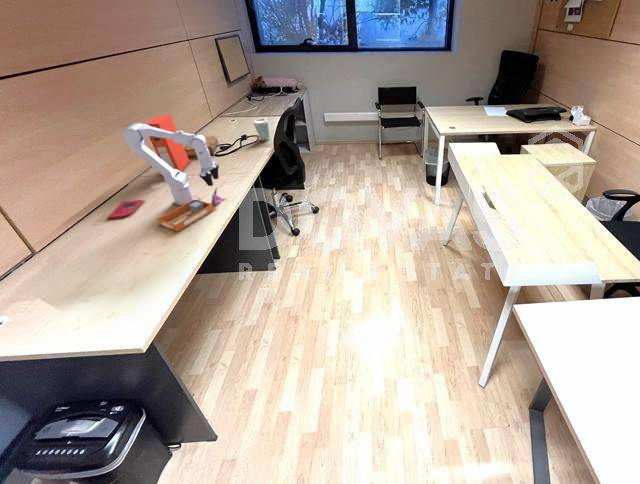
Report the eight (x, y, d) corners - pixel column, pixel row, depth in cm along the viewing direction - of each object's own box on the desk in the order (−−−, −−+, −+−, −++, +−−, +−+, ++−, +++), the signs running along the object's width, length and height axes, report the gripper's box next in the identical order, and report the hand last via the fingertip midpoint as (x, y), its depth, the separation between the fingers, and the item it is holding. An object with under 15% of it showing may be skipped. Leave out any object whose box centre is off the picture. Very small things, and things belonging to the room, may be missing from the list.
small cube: (191, 211, 161) (188, 205, 159) (198, 207, 165) (196, 201, 162) (198, 213, 160) (195, 207, 158) (205, 209, 163) (202, 203, 161)
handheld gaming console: (106, 216, 156) (122, 201, 169) (108, 219, 157) (123, 203, 169) (128, 214, 158) (142, 199, 170) (129, 216, 159) (143, 201, 171)
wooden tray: (159, 225, 152) (156, 219, 150) (197, 204, 167) (194, 199, 166) (177, 231, 148) (174, 225, 146) (214, 210, 163) (212, 204, 161)
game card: (214, 186, 170) (211, 194, 163) (225, 188, 172) (222, 196, 165) (213, 197, 173) (210, 205, 166) (224, 198, 175) (221, 207, 168)
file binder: (166, 174, 198) (143, 124, 180) (176, 163, 212) (156, 115, 195) (180, 173, 199) (159, 123, 182) (189, 162, 213) (170, 114, 196)
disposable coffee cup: (269, 141, 244) (264, 122, 236) (255, 141, 244) (250, 122, 236) (274, 136, 253) (269, 118, 245) (260, 136, 253) (255, 118, 245)
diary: (214, 154, 224) (211, 146, 221) (184, 158, 219) (181, 150, 215) (218, 143, 242) (215, 135, 239) (190, 146, 237) (188, 139, 234)
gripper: (207, 164, 156) (216, 188, 163) (218, 152, 168) (226, 175, 175) (192, 165, 155) (201, 189, 162) (204, 153, 167) (213, 176, 175)
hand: (213, 182), depth 169 cm, fingers open, 7 cm apart
